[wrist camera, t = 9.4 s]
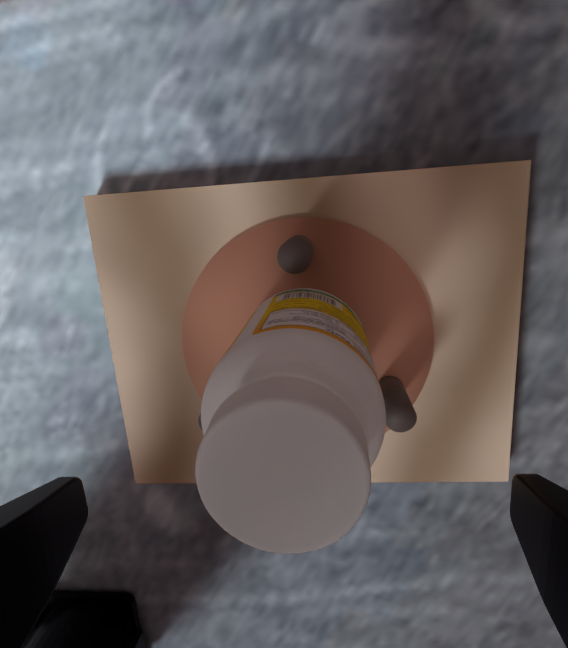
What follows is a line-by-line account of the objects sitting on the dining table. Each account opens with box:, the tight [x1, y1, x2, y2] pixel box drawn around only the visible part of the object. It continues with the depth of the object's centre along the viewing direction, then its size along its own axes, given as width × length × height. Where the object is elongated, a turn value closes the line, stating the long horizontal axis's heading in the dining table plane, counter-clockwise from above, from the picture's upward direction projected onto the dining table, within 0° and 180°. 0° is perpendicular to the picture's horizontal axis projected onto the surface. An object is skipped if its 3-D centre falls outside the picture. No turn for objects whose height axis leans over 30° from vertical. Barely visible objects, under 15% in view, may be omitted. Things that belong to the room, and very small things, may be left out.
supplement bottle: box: [195, 288, 386, 554], centre depth 14 cm, size 5×5×10 cm
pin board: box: [83, 160, 531, 484], centre depth 18 cm, size 18×14×4 cm
